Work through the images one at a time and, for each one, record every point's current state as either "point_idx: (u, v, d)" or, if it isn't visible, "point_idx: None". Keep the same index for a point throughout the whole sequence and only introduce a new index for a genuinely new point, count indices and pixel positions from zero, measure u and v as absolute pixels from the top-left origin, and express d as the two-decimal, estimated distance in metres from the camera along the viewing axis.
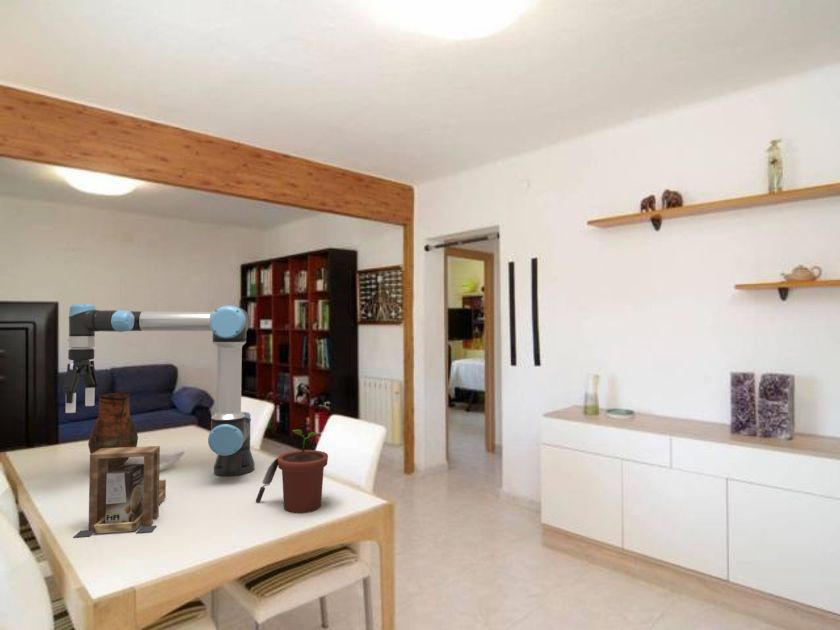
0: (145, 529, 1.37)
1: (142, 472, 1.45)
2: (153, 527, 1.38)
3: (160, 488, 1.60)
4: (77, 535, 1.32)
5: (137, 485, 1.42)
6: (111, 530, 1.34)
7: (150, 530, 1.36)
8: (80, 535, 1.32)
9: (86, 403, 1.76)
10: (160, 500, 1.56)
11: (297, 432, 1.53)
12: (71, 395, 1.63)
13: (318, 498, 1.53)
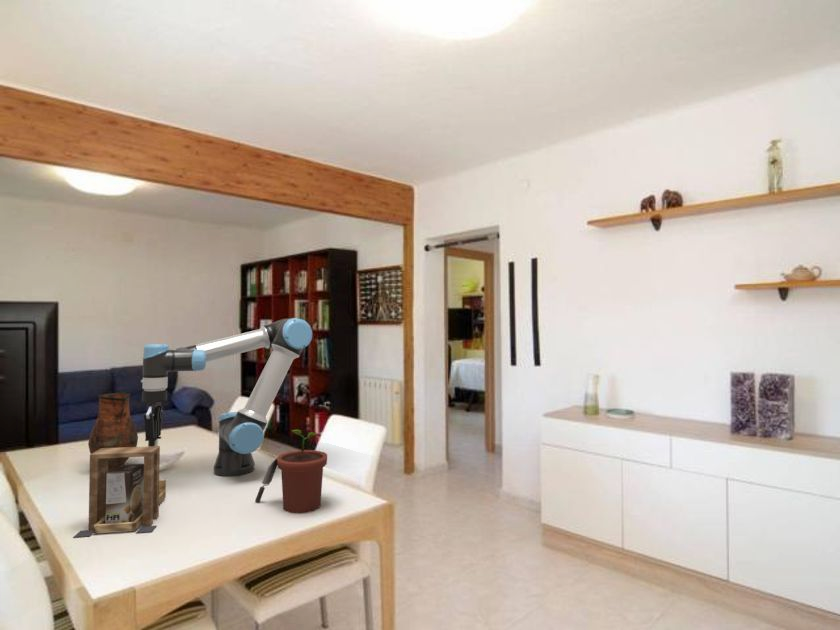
0: (145, 529, 1.37)
1: (142, 472, 1.45)
2: (153, 527, 1.38)
3: (160, 488, 1.60)
4: (77, 535, 1.32)
5: (137, 485, 1.42)
6: (111, 530, 1.34)
7: (150, 530, 1.36)
8: (80, 535, 1.32)
9: None
10: (160, 500, 1.56)
11: (296, 432, 1.53)
12: (154, 442, 1.64)
13: (317, 498, 1.53)
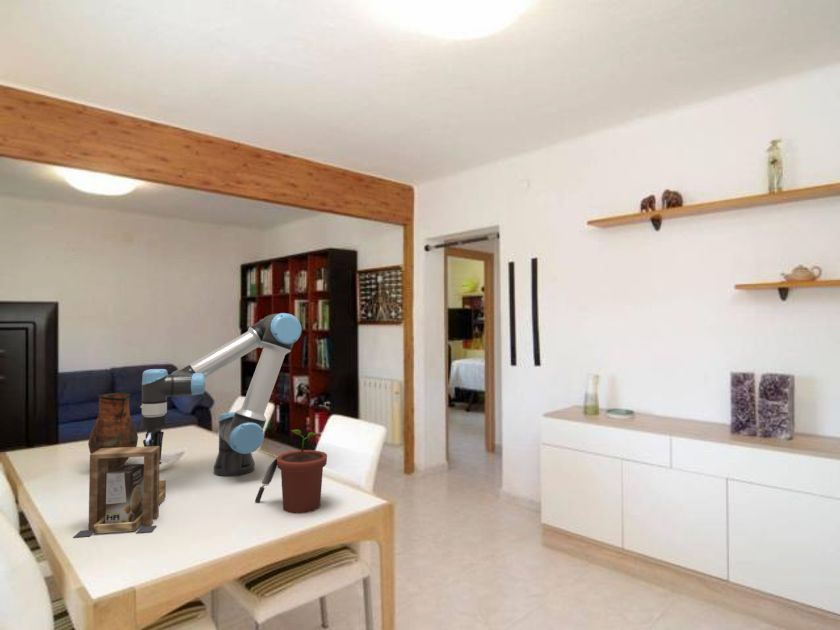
0: (145, 529, 1.37)
1: (142, 472, 1.45)
2: (153, 527, 1.38)
3: (160, 488, 1.60)
4: (77, 535, 1.32)
5: (137, 485, 1.42)
6: (111, 530, 1.34)
7: (150, 530, 1.36)
8: (80, 535, 1.32)
9: None
10: (160, 500, 1.56)
11: (296, 432, 1.53)
12: None
13: (317, 498, 1.53)
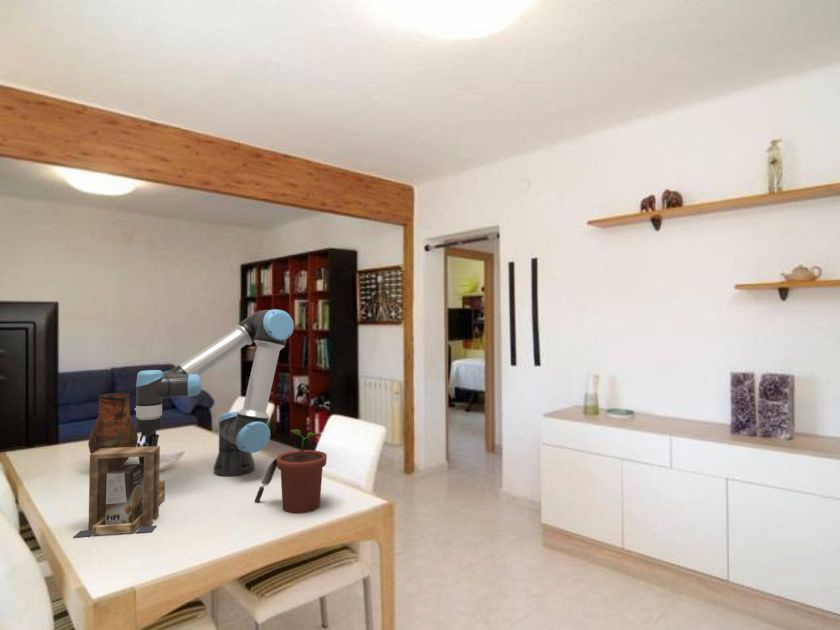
0: (145, 529, 1.37)
1: (142, 472, 1.45)
2: (153, 527, 1.38)
3: (159, 489, 1.59)
4: (77, 535, 1.32)
5: (137, 485, 1.42)
6: (110, 531, 1.33)
7: (150, 530, 1.36)
8: (80, 535, 1.32)
9: None
10: (159, 501, 1.55)
11: (296, 432, 1.53)
12: None
13: (316, 498, 1.53)
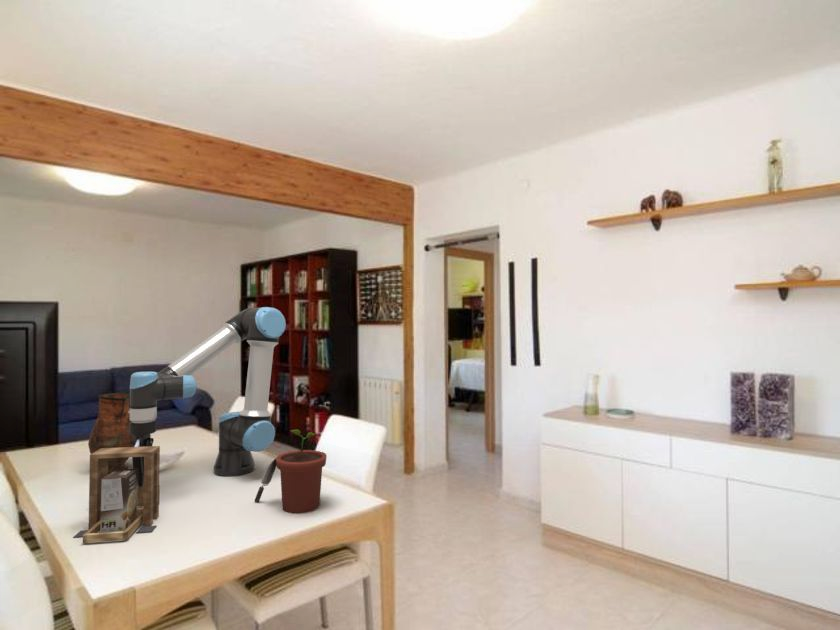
0: (145, 529, 1.37)
1: (137, 477, 1.40)
2: (153, 527, 1.38)
3: None
4: (77, 535, 1.32)
5: (132, 490, 1.37)
6: (101, 540, 1.28)
7: (150, 530, 1.36)
8: (80, 535, 1.32)
9: None
10: None
11: (295, 432, 1.53)
12: (142, 477, 1.53)
13: (316, 498, 1.53)
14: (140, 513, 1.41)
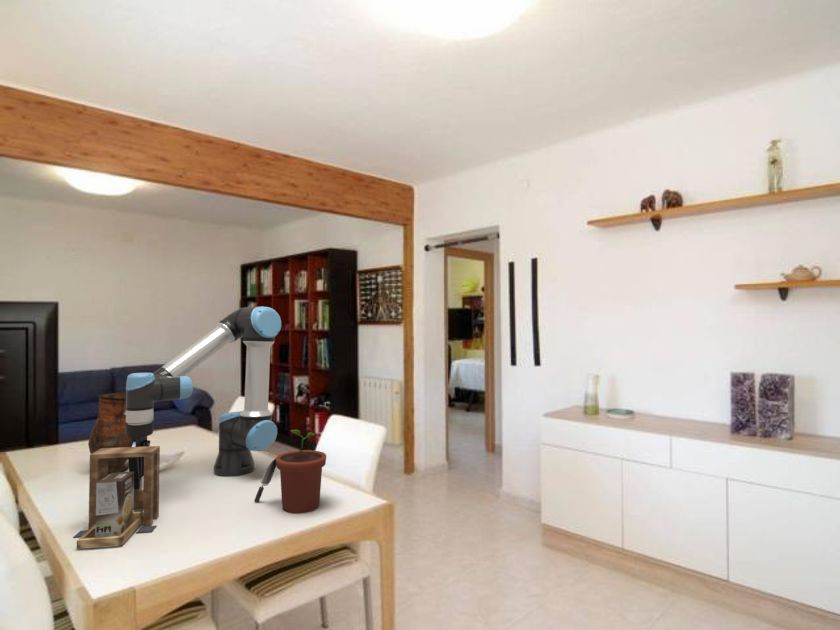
0: (145, 529, 1.37)
1: (132, 480, 1.37)
2: (153, 527, 1.38)
3: None
4: (77, 535, 1.32)
5: (128, 494, 1.34)
6: (96, 545, 1.25)
7: (150, 530, 1.36)
8: (80, 535, 1.32)
9: None
10: None
11: (295, 432, 1.53)
12: (139, 480, 1.50)
13: (316, 498, 1.53)
14: (136, 517, 1.38)
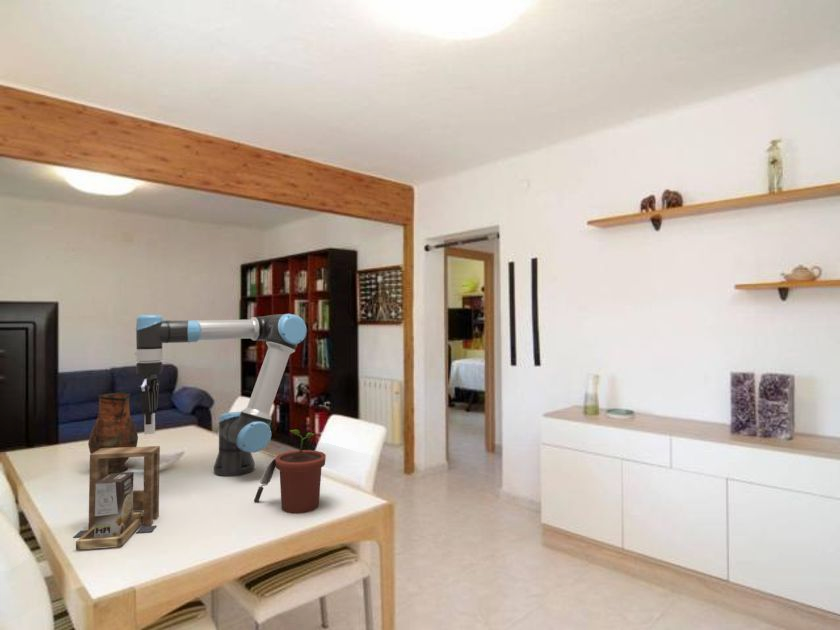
0: (145, 529, 1.37)
1: (132, 481, 1.37)
2: (153, 527, 1.38)
3: None
4: (77, 535, 1.32)
5: (127, 495, 1.34)
6: (95, 546, 1.25)
7: (150, 530, 1.36)
8: (80, 535, 1.32)
9: None
10: None
11: (295, 432, 1.53)
12: (150, 416, 1.58)
13: (315, 498, 1.53)
14: (135, 517, 1.38)
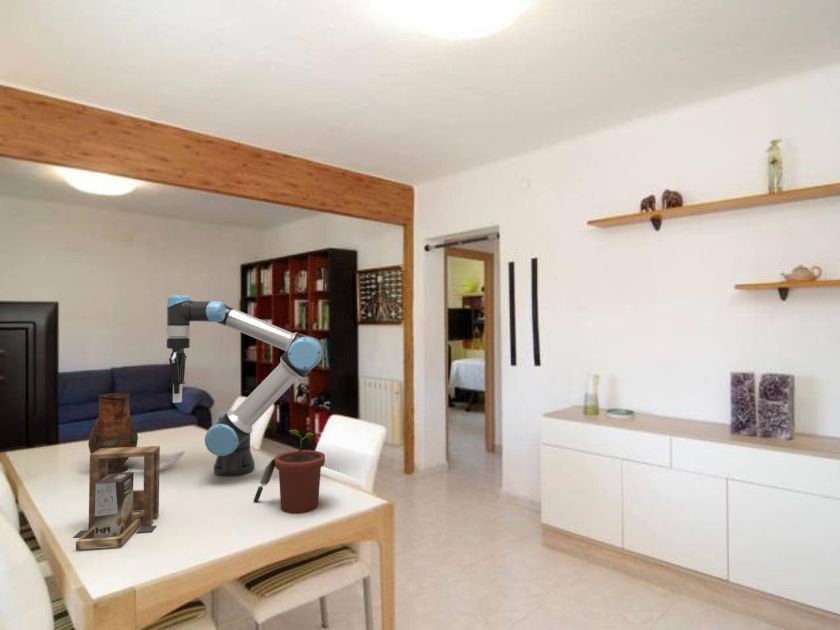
0: (145, 529, 1.37)
1: (132, 481, 1.37)
2: (153, 527, 1.38)
3: None
4: (77, 535, 1.32)
5: (127, 495, 1.34)
6: (95, 546, 1.25)
7: (150, 530, 1.36)
8: (80, 535, 1.32)
9: None
10: None
11: (294, 432, 1.53)
12: (178, 386, 1.76)
13: (315, 498, 1.53)
14: (135, 517, 1.38)
